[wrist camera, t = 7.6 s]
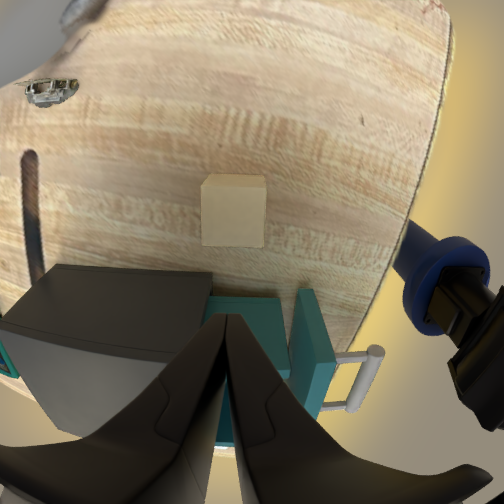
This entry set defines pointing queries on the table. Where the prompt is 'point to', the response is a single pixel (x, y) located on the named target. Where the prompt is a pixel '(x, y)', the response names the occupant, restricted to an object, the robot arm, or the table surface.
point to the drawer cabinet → (100, 337)
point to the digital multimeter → (7, 363)
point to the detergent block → (233, 210)
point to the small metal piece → (49, 91)
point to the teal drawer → (297, 354)
